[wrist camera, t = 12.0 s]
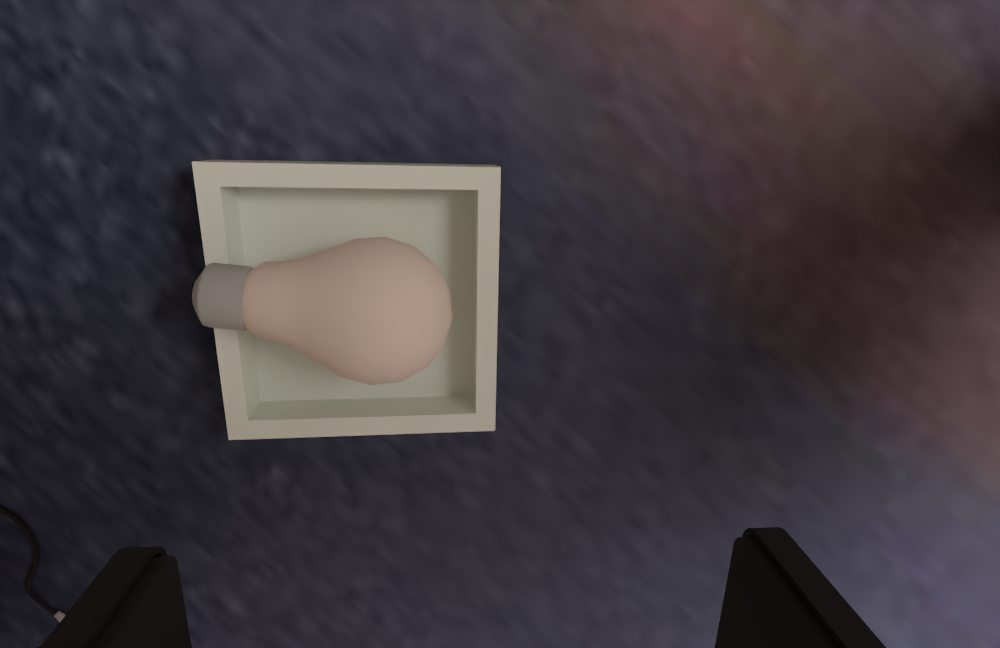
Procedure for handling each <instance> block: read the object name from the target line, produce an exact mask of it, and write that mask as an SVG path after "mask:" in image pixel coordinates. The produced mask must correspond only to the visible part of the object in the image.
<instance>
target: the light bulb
mask: <svg viewBox="0 0 1000 648" xmlns="http://www.w3.org/2000/svg"><path fill="white" fill-rule="evenodd" d="M191 303H192V306H193V308H194V309H195V311H196V313H197V316H198V318H199V320H200V322H201V323H202V325H204V326H207V327H212V328H222V329H233V330H244V331H245V330H248V331H249V332H250V333H251V334H252V335H253V336H254V337H257V338H261V339H265V340H270V341H275V342H279V343H283V344H285V345H287V346H289V347H291V348H293V349H295V350H296V351H298V352H300V353H302V354H304V355H306V356H308V357H309V358H311V359H312V360H314V361H316V362H317V363H319V364H320V365H322V366H324V367H325V368H327V369H328V370H330V371H332V372H333V373H335V374H336V375H338V376H340V377H343V378H346V379H350V380H354V381H357V382H361V383H365V384H368V385H377V384H386V383H395V382H401V381H403V380H405V379H407V378H409V377H411V376H412V375H414V374H416V373H418V372H420V371H422V370H423V369H425V368H426V367H427V366H428V365H429V364H430V363H431V361H432V360H433V359H434V358H435V357H436V355H437V354H438V353H439V352H440V351H441V349H442V348H443V347H444V344H445V341H446V338H447V335H448V331H449V328H450V325H451V322H452V310H451V300H450V290H449V288H448V286H447V284H446V282H445V280H444V278H443V277H442V275H441V273H440V271H439V269H438V267H437V265H436V264H435V263H434V262H432V261H431V260H430V259H429V258H428V257H426V256H425V255H424V254H423V253H422V252H421V251H419V250H418V249H417V248H416V247H415V246H412V245H409V244H406V243H403V242H400V241H397V240H394V239H391V238H388V237H374V238H362V239H353V240H351V241H348V242H346V243H343V244H341V245H338V246H335V247H333V248H330V249H328V250H325V251H323V252H320V253H317V254H314V255H310V256H307V257H304V258H301V259H297V260H294V261H279V262H263V263H261V264H260V265H258V266H257V267H255V268H252V267H250V266H241V265H231V264H222V263H211V264H209V265H207V266H206V267H205V268H204V270H203V271H202V273H201V274H200V276H199V277H198V278H197V279H196V280H195V281H194V283H193V286H192V289H191Z"/></svg>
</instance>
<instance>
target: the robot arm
mask: <svg viewBox="0 0 1000 648" xmlns="http://www.w3.org/2000/svg"><path fill="white" fill-rule="evenodd" d="M38 648H192V646H191V641H190V635H189V629H188V623H187V617H186V611H185V605H184V599H183V593H182V588H181V582H180V576H179V570H178V564H177V560H176V558H175V557H174V556H167V554H166V551H165V550H164V548H163V547H159V546H158V547H126V548H122V549H119V550H118V551H117V552H116V553H115V554H114V555H113V557H112V558H111V559H110V560H109V562H108V563H107V564H106V565H105V567H104V568H103V569H102V570H101V572H100V573H99V574H98V575H97V577H96V578H95V579H94V580H93V582H92V583H91V584H90V585H89V587H88V588H87V589H86V590H85V592H84V593H83V594H82V595H81V597H80V598H79V599H78V600H77V602H76V603H75V604H74V605H73V607H72V608H71V609H70V610H69V612H68V613H67V614H66V615H65V617H64V618H63V619H62V620H61V622H60V623H59V624H58V625H57V627H56V628H55V629H54V630H53V632H52V633H51V634H50V635H49V637H48V638H47V639H46V640H45V642H44V643H43V644H42V645H41V646H40V647H38ZM715 648H886V647H885V646H884V645H883V644H882V642H881V641H880V640H879V639H878V638H877V637H876V635H875V634H874V633H873V632H872V631H871V630H870V628H869V627H868V626H867V625H866V624H865V623H864V621H863V620H862V619H861V618H860V617H859V616H858V614H857V613H856V612H855V611H854V610H853V609H852V607H851V606H850V605H849V604H848V603H847V602H846V600H845V599H844V598H843V597H842V596H841V595H840V594H839V592H838V591H837V590H836V589H835V588H834V587H833V585H832V584H831V583H830V582H829V581H828V580H827V578H826V577H825V576H824V575H823V574H822V573H821V571H820V570H819V569H818V568H817V567H816V566H815V564H814V563H813V562H812V561H811V560H810V559H809V557H808V556H807V555H806V554H805V553H804V552H803V550H802V549H801V548H800V547H799V546H798V545H797V543H796V542H795V541H794V540H793V539H792V538H791V536H790V535H789V534H788V533H787V532H786V531H785V530H784V529H782V528H779V527H774V528H749V529H746V530H745V532H744V533H743V536H742V537H739V538H737V539H736V540H735V542H734V546H733V551H732V557H731V562H730V568H729V573H728V579H727V584H726V590H725V595H724V601H723V606H722V611H721V617H720V622H719V628H718V633H717V639H716V644H715Z"/></svg>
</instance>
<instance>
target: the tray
mask: <svg viewBox="0 0 1000 648" xmlns="http://www.w3.org/2000/svg"><path fill="white" fill-rule="evenodd" d="M192 168H193V175H194V183H195V191H196V198H197V206H198V213H199V221H200V228H201V236H202V243H203V251H204V259H205V266H207V265H209V264H211V263H222V264H231V265H241V266H250V267H252V268H255V267H257V266H258V265H260V264H261V263H263V262H279V261H294V260H297V259H301V258H304V257H307V256H310V255H314V254H317V253H320V252H323V251H325V250H328V249H330V248H333V247H335V246H338V245H341V244H343V243H346V242H348V241H351V240H353V239H362V238H374V237H388V238H391V239H394V240H397V241H400V242H403V243H406V244H409V245H412V246H415V247H416V248H417V249H418V250H419V251H421V252H422V253H423V254H424V255H425V256H426V257H428V258H429V259H430V260H431V261H432V262H434V263H435V264H436V265H437V267H438V269H439V271H440V273H441V275H442V277H443V278H444V280H445V282H446V284H447V286H448V288H449V290H450V300H451V310H452V322H451V325H450V328H449V331H448V335H447V338H446V341H445V344H444V347H443V348H442V349H441V351H440V352H439V353H438V354H437V355H436V357H435V358H434V359H433V360H432V361H431V363H430V364H429V365H428V366H427V367H426V368H425V369H423V370H422V371H420V372H418V373H416V374H414V375H412V376H411V377H409V378H407V379H405V380H403V381H401V382H395V383H386V384H377V385H368V384H365V383H361V382H357V381H354V380H350V379H346V378H343V377H340V376H338V375H336V374H335V373H333V372H332V371H330V370H328V369H327V368H325V367H324V366H322V365H320V364H319V363H317V362H316V361H314V360H312V359H311V358H309V357H308V356H306V355H304V354H302V353H300V352H298V351H296V350H295V349H293V348H291V347H289V346H287V345H285V344H283V343H279V342H275V341H270V340H265V339H261V338H257V337H254V336H253V335H252V334H251V333H250V332H249V331H248V330H245V331H244V330H233V329H222V328H214V334H215V342H216V349H217V357H218V364H219V372H220V379H221V387H222V395H223V402H224V410H225V417H226V425H227V432H228V440H245V439H274V438H303V437H331V436H360V435H389V434H417V433H446V432H475V431H495V416H496V370H497V323H498V277H499V230H500V183H501V167H499V166H496V165H485V164H431V163H377V162H322V161H268V160H206V161H194V162H192Z"/></svg>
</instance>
